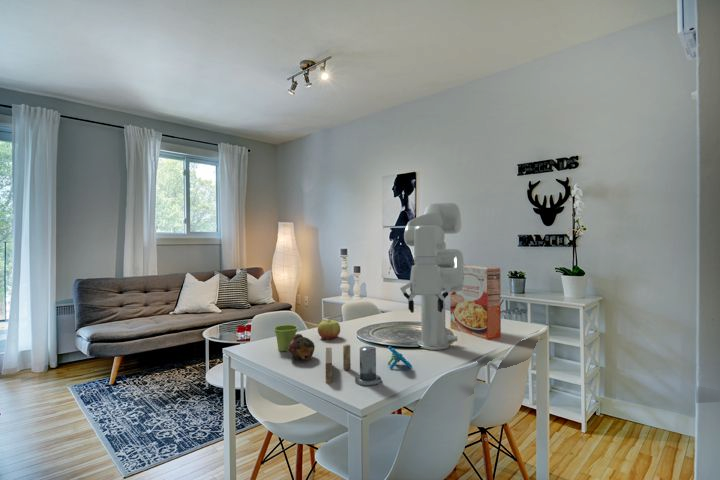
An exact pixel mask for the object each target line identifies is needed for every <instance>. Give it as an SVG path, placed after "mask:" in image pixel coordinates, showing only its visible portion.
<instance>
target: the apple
mask: <svg viewBox="0 0 720 480" xmlns="http://www.w3.org/2000/svg"><path fill="white" fill-rule="evenodd" d="M340 333H341V325H340V323H339V321H336V320H332V319H327V320H322V321H321V322H320V323H319V324H318V326H317V334H318V335H319V336H320V338H321V339H324V340H333V339H334V340H335V339H336V338H338V336H339V335H340Z"/></svg>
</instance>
